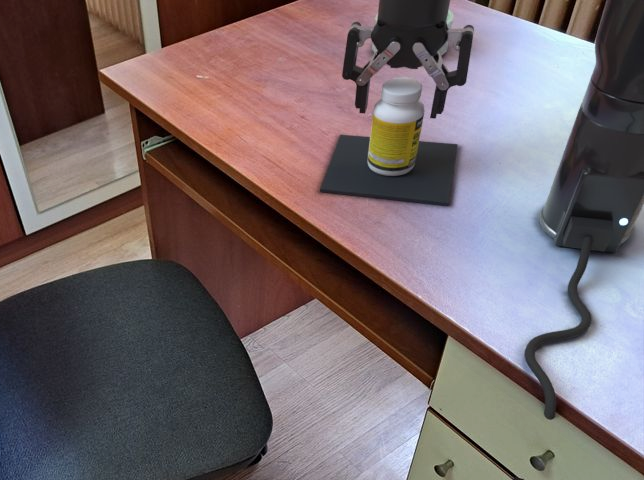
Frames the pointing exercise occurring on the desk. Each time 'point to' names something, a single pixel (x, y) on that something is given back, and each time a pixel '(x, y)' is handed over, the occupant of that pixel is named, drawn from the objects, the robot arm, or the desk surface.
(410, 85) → the pill bottle
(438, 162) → the mat
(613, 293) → the desk surface
